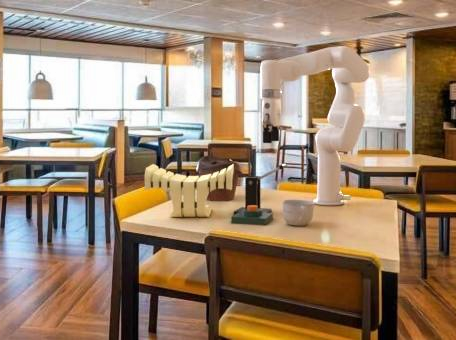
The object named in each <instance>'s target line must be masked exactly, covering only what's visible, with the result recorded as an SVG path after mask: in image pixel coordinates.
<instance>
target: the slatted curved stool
mask: <svg viewBox="0 0 456 340" xmlns="http://www.w3.org/2000/svg"><path fill="white" fill-rule="evenodd" d="M233 172H234V164H233V165H231V166H229V167H228V169H227V171H226V168H225V169H223V170H221V171H220V173H219V171H218V172H215V173H213V175H212V177H211V174H208V175H202V176H201V177H200V175H188V176H187V175H185V174H180V173H174V172H172V171H170V170H169V171H167V169H164V168H163V167H160V168H159V166H158V165H156V164H154V163H152V164H150V165H148V166H147V167H145V169H144V191H148V190H152V189H157V190H159V189H160V190H162V191H165V192H166V193H168V192H169V197H170V200H171V203H172V209H173V212H172V215H171V218H182V217H184V218H196V217H198V218H209V217H210V215H211V212H212V209H211V206H210V205H209V204H206V203H207V200H208V199H207V196H208V194H209V187H210V192H211V191H212V190H214V189H216V187H218V189H220V188H223V189H224V187H226V189H229V190H232V177H233ZM225 176H226V181H225ZM217 180H218V181H217Z"/></svg>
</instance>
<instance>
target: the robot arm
mask: <svg viewBox="0 0 456 340" xmlns="http://www.w3.org/2000/svg"><path fill="white" fill-rule="evenodd" d="M330 70H331V75H332V79H333V82H334V85H335V96H334V98H333V101H332V103H331V106H330V108H329V111H328V115H327V122H328V124H329V125H330V126H325V127H321V128H320V129H319V130H318V131H317V132H316V134H315V145H316V150H317V151H316V152H317V181H316V182H317V189H316V191H317V192H316V198H315V199H313V200H312V202H314V205H319V206H327V207H328V206H329V207H330V206H331V207H333V206H341V205H343V204H344V203H345V201H351V199H352V198H351V195H349V194H343V192H342V191H341V170H342V167H341V166H342V161H341V160H342V159H341V157H340V154H339V152H340V153H341V152H342V153H348V152H351V151H352V150H354V148H355V147H356V145H357V142H358V141H359V137H360V135H361V132H362V129H363V126H364V123H365V119H366V118H365V117H366V115H365V110H364V108H363V107H362V106H360V105H359V104H355V103H356V99H357V97H356V91H355V89H354V87H353V84H357V83H359V84H360V83H361V84H362V83H365V82H367V80H369V77H370V74H371V70H370V67H369V65H368V63H367V62H366V61H365V60H364V59H363V57H361V56H360V55H359V54H358V52H356V51H354V50H353V49H352V48H351V47H349V46H347V45H342V46H341V45H339V46H329V47H325V48H321V49H318V50H314V51H310V52H306V53H302V54H298V55H294V56H290V57H285V58H281V59H265V60H262V61H261V62H260V100H262V106H261V107H262V108H261V123H262V143H263V144H272V143H273V142H279V141H280V126H282V107H281V106H282V105H281V100H282V82H287V83H288V82H295V81H297V80H299V79H300V78H301V77H303V76H304V77H305V76H312V75H316V74H320V73H323V72H325V71H330Z"/></svg>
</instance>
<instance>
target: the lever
mask: <svg viewBox="0 0 456 340" xmlns="http://www.w3.org/2000/svg"><path fill="white" fill-rule="evenodd" d="M287 166H288V165H287V164H286V163H281V164H280V165H279V166H278V167H276V168H274V169H272V170H269V171H268V172H266V173H264V174H262V175H259V176H260V177H258V178H257V183H258V180H260V179H264V178H266V177H268V176H270V175H272V174H274V173H277V172H278V171H280V170H284V169H286V168H287ZM255 178H256V177H255Z"/></svg>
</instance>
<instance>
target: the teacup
mask: <svg viewBox="0 0 456 340" xmlns="http://www.w3.org/2000/svg"><path fill="white" fill-rule="evenodd" d="M314 208H315V203H314V202H313V201H311V200H306V199H285V200H282V218H283V220H284V222H286V223H287V224H288V225H290V226H300V227H301V226H307V225H308V224H309V223H311V222H312V220H313V219H314V218H313V217H314Z"/></svg>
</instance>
